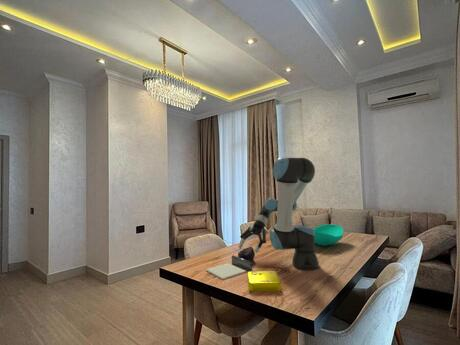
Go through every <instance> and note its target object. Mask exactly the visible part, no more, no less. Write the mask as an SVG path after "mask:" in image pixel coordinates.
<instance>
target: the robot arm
mask: <svg viewBox="0 0 460 345" xmlns="http://www.w3.org/2000/svg"><path fill="white" fill-rule="evenodd" d="M272 168H273V169H272V173H273V174H272V175H273V178H274V179H275V180H276V182H277V184H278V192H277V193H278V194H277V199H276V198H271V197H270V198H268V199H266V201H265V202H264V203H263V205H262V207H261V209H260V211H259V214H258V215H257V217H256V219H255V221H254V222H253V226H252V227H251V226H248V228H247V229H246V230H245V231H244V232H243V233H242V234H241V235H240V236H239V238H241V239H240V241H239V244H238V247H237V248H239V249H240V250H242V248H243V245H244V244H245V242H246V240H247V239H248V238H250V237H251V236H254V235H255V236H258V239H259V240H258V241H257V244H256V247H254V248H255V249H254V253H256V254H258V252H259V251H260V249H261V248H262V245H263V244H267V234H266V233H267V229H265V227H266V225H267V222H269V219H270V217H271V215H272V213H274V212H275V213H276V223H275V224H274V225H273V229H270V231H269V240H270V243H271V245H272V248H273V249H274V250H277V251H283V250H293V249H294V253H293V257H292V266H293V267H295V268H296V269H299V270H305V271H307V270H309V271H310V270H312V271H313V270H317V269H319V267H320V262H319V259H318V256H317V254H316V243H315V234H314V228H313V227H311V226H308V225H307V226H306V225H298V224H296V225H294V226H293V224H292V222H293V211H296V210H297V207H298V205H297V201H298V199H299V198H300V196H301V195H302V193H303V192H304V190H305V189H306V187H307V185H308V184H309V183H311V182H312V181H313V179H314V177H315V174H316V169H315V165H314V163H313V162H312V161H311V160H310V159H308V158H306V157H279V158H277V159H276V161H275V162H274V164H273V167H272ZM261 234H262V235H261Z"/></svg>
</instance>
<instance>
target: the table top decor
mask: <svg viewBox="0 0 460 345" xmlns="http://www.w3.org/2000/svg"><path fill="white" fill-rule="evenodd" d="M313 229H314V234H315V244H317V245H318V246H324V247H325V246H331V245H334V244H336V243H338V242H339V241H341V240H342V238H343V236H344V233H345V231H344V228H343V226H342V225H338V224H330V223H329V224H328V223H327V224H322V225H319V226H316V227H314V228H313Z"/></svg>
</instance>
